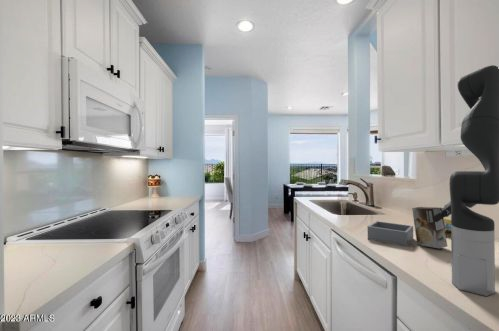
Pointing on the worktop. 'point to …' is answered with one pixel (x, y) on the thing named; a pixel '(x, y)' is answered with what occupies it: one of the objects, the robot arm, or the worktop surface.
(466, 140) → the robot arm
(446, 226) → the candy box
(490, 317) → the worktop surface
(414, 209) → the coffee box
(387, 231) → the bin
